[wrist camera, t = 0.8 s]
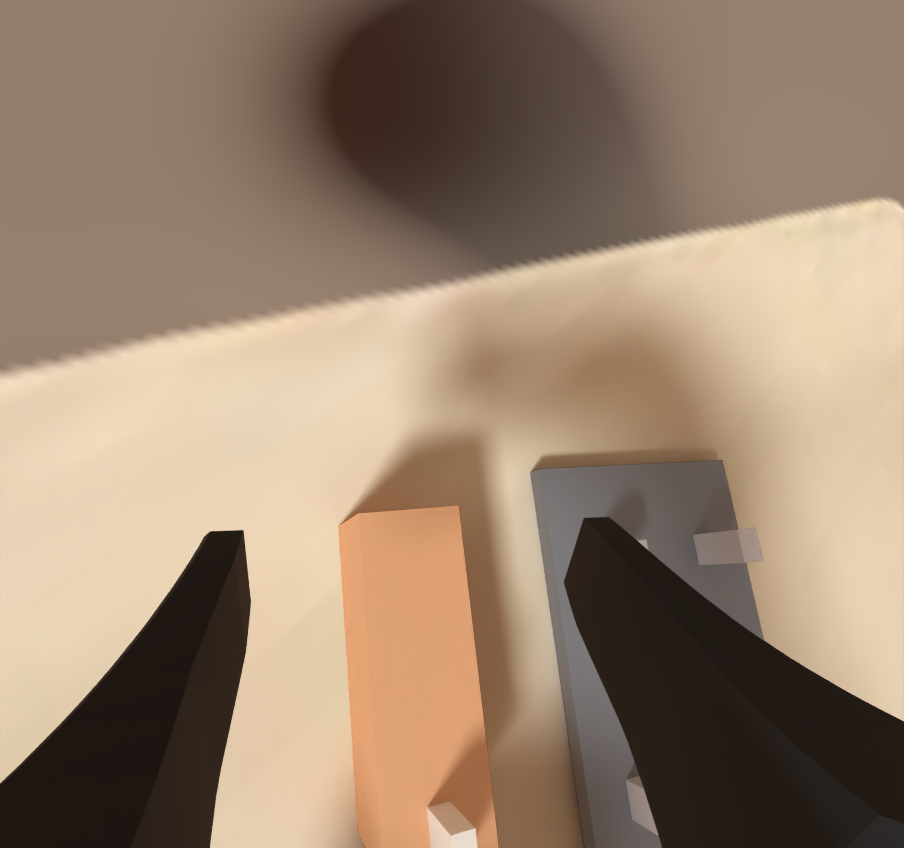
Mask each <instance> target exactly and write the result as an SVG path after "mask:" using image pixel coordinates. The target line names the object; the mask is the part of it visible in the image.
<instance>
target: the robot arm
mask: <svg viewBox="0 0 904 848" xmlns="http://www.w3.org/2000/svg"><path fill="white" fill-rule="evenodd" d="M564 585H565V589H566V592H567V596H568V599H569V603H570V606H571V610H572V613H573V616H574V619H575V622H576V625H577V628H578V630H579V632H580V635H581V637H582V639H583V641H584V644H585V646H586V648H587V650H588V653H589V655H590V657H591V660H592V662H593V664H594V666H595V668H596V671H597V673H598V675H599V677H600V679H601V682H602V684H603V686H604V688H605V691H606V693H607V695H608V697H609V699H610V702H611V704H612V706H613V708H614V710H615V713H616V715H617V717H618V719H619V722H620V724H621V727H622V729H623V732H624V734H625V736H626V739H627V741H628V744H629V747H630V750H631V753H632V756H633V759H634V762H635V765H636V768H637V770H638V773H639V776H640V779H641V782H642V785H643V788H644V791H645V794H646V797H647V801H648V804H649V807H650V810H651V813H652V817H653V820H654V823H655V826H656V829H657V832H658V836H659V839H660V842H661V846H662V848H904V721H902V720H900V719H898V718H896V717H894V716H892V715H890V714H888V713H886V712H884V711H882V710H880V709H878V708H877V707H875V706H873V705H871V704H869V703H867V702H865V701H863V700H861V699H860V698H858V697H856V696H854V695H852V694H850V693H849V692H847V691H845V690H843V689H841V688H840V687H838V686H836V685H834V684H833V683H831V682H829V681H828V680H826V679H824V678H823V677H821V676H819V675H817V674H816V673H814V672H812V671H811V670H809V669H807V668H806V667H804V666H802V665H801V664H799V663H798V662H796V661H794V660H793V659H791V658H790V657H788V656H786V655H785V654H783V653H782V652H780V651H779V650H777V649H776V648H774V647H773V646H771V645H770V644H768V643H767V642H765V641H764V640H762V639H761V638H759V637H758V636H756V635H755V634H753V633H752V632H751V631H749V630H748V629H746V628H745V627H744V626H742V625H741V624H739V623H738V622H737V621H735V620H734V619H733V618H731V617H730V616H729V615H727V614H726V613H725V612H723V611H722V610H721V609H719V608H718V607H717V606H715V605H714V604H713V603H711V602H710V601H709V600H708V599H706V598H705V597H704V596H703V595H701V594H700V593H699V592H698V591H696V590H695V589H694V588H693V587H691V586H690V585H689V584H688V583H686V582H685V581H684V580H683V579H682V578H680V577H679V576H678V575H677V574H676V573H674V572H673V571H672V570H671V569H670V568H669V567H667V566H666V565H665V564H664V563H663V562H661V561H660V560H659V559H658V558H657V557H656V556H655V555H653V554H652V553H651V552H650V551H649V550H648V549H646V548H645V547H644V546H643V545H642V544H641V543H639V542H638V541H637V540H636V539H635V538H634V537H633V536H631V535H630V534H629V533H628V532H627V531H626V530H624V529H623V528H622V527H621V526H620V525H618V524H617V523H616V522H615V521H613V520H612V519H611V518H610V517H592V518H584V519H583V522H582V525H581V528H580V531H579V535H578V538H577V541H576V544H575V547H574V551H573V554H572V557H571V560H570V563H569V567H568V570H567V573H566V576H565V579H564ZM250 606H251V598H250V589H249V579H248V570H247V560H246V551H245V541H244V531H243V530H238V531H211V532H209V533H208V534H207V535H206V536H204V538H203V540H202V542H201V543H200V545H199V547H198V549H197V550H196V552H195V554H194V555H193V557H192V558H191V560H190V562H189V563H188V565H187V566H186V568H185V569H184V571H183V572H182V574H181V575H180V577H179V578H178V580H177V581H176V583H175V584H174V586H173V587H172V589H171V590H170V592H169V593H168V594H167V596H166V597H165V598H164V600H163V601H162V603H161V604H160V605H159V607H158V608H157V610H156V611H155V612H154V614H153V615H152V616H151V618H150V619H149V621H148V622H147V623H146V625H145V626H144V627H143V628H142V630H141V631H140V632H139V634H138V635H137V636H136V637H135V639H134V640H133V641H132V642H131V644H130V645H129V646H128V647H127V648H126V650H125V651H124V652H123V653H122V655H121V656H120V657H119V658H118V660H117V661H116V662H115V663H114V665H113V666H112V667H111V668H110V669H109V671H108V672H107V673H106V674H105V675H104V676H103V678H102V679H101V680H100V681H99V682H98V683H97V685H96V686H95V687H94V688H93V689H92V690H91V691H90V692H89V694H88V695H87V696H86V697H85V698H84V699H83V700H82V701H81V702H80V703H79V705H78V706H77V707H76V708H75V709H74V710H73V711H72V712H71V713H70V714H69V715H68V716H67V717H66V719H65V720H64V721H63V722H62V723H61V724H60V725H59V726H58V727H57V728H56V729H55V730H54V731H53V732H52V733H51V734H50V735H49V736H48V737H47V738H46V739H45V740H44V741H43V742H42V743H41V744H40V745H39V746H38V747H37V748H36V749H35V750H34V751H33V752H32V753H31V754H30V755H29V756H28V757H27V758H26V759H25V760H24V761H23V762H22V763H21V764H20V765H19V766H18V767H17V768H16V769H15V770H14V771H13V772H12V773H11V774H10V775H9V776H8V777H7V778H6V779H5V780H3V781H2V782H1V783H0V848H210V841H211V833H212V825H213V817H214V809H215V801H216V794H217V788H218V783H219V777H220V771H221V766H222V761H223V757H224V752H225V747H226V743H227V738H228V734H229V729H230V724H231V720H232V715H233V710H234V706H235V701H236V696H237V692H238V687H239V682H240V678H241V673H242V668H243V663H244V658H245V654H246V646H247V636H248V627H249V616H250Z"/></svg>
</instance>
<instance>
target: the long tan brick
mask: <svg viewBox="0 0 904 848" xmlns="http://www.w3.org/2000/svg"><path fill="white" fill-rule="evenodd" d="M338 529H339V545H340V560H341V576H342V591H343V607H344V622H345V638H346V653H347V669H348V684H349V700H350V715H351V731H352V746H353V761H354V777H355V792H356V808H357V823H358V833H359V835H360V837H361V839H362V841H363V844H364V846H365V848H499V846H498V838H497V829H496V821H495V812H494V803H493V795H492V786H491V778H490V769H489V761H488V752H487V744H486V735H485V727H484V718H483V710H482V701H481V693H480V684H479V676H478V667H477V659H476V650H475V642H474V633H473V625H472V616H471V608H470V599H469V591H468V582H467V574H466V565H465V556H464V548H463V539H462V531H461V522H460V514H459V505H458V506H446V507H433V508H421V509H408V510H395V511H383V512H370V513H358V514H356V515H355V516H353V517H352V518H350V519H349V520H347V521H346V522H344V523H343V524H341V525H340V526H338Z"/></svg>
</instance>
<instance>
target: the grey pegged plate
mask: <svg viewBox="0 0 904 848" xmlns="http://www.w3.org/2000/svg"><path fill="white" fill-rule="evenodd" d="M531 480H532V487H533V494H534V501H535V508H536V515H537V522H538V529H539V536H540V543H541V550H542V557H543V564H544V571H545V578H546V585H547V592H548V599H549V606H550V613H551V620H552V627H553V634H554V641H555V647H556V654H557V661H558V668H559V675H560V682H561V689H562V696H563V703H564V710H565V717H566V724H567V731H568V738H569V745H570V752H571V759H572V766H573V773H574V780H575V787H576V794H577V801H578V808H579V815H580V822H581V829H582V836H583V843H584V848H662V846H661V842H660V839H659V836H658V832H657V829H656V826H655V823H654V820H653V817H652V813H651V810H650V807H649V804H648V801H647V797H646V794H645V791H644V788H643V785H642V782H641V779H640V776H639V773H638V770H637V768H636V765H635V762H634V759H633V756H632V753H631V750H630V747H629V744H628V741H627V739H626V736H625V734H624V732H623V729H622V727H621V724H620V722H619V719H618V717H617V715H616V713H615V710H614V708H613V706H612V704H611V702H610V699H609V697H608V695H607V693H606V691H605V688H604V686H603V684H602V682H601V679H600V677H599V675H598V673H597V671H596V668H595V666H594V664H593V662H592V660H591V657H590V655H589V653H588V650H587V648H586V646H585V644H584V641H583V639H582V637H581V635H580V632H579V630H578V628H577V625H576V622H575V619H574V616H573V613H572V610H571V606H570V603H569V599H568V596H567V592H566V589H565V585H564V579H565V576H566V573H567V570H568V567H569V563H570V560H571V557H572V554H573V551H574V547H575V544H576V541H577V538H578V535H579V531H580V528H581V525H582V522H583V519H584V518H592V517H610V518H611V519H612V520H613V521H615V522H616V523H617V524H618V525H620V526H621V527H622V528H623V529H624V530H626V531H627V532H628V533H629V534H630V535H631V536H633V537H634V538H635V539H636V540H637V541H638V542H639V543H641V544H642V545H643V546H644V547H645V548H646V549H648V550H649V551H650V552H651V553H652V554H653V555H655V556H656V557H657V558H658V559H659V560H660V561H661V562H663V563H664V564H665V565H666V566H667V567H669V568H670V569H671V570H672V571H673V572H674V573H676V574H677V575H678V576H679V577H680V578H682V579H683V580H684V581H685V582H686V583H688V584H689V585H690V586H691V587H693V588H694V589H695V590H696V591H698V592H699V593H700V594H701V595H703V596H704V597H705V598H706V599H708V600H709V601H710V602H711V603H713V604H714V605H715V606H717V607H718V608H719V609H721V610H722V611H723V612H725V613H726V614H727V615H729V616H730V617H731V618H733V619H734V620H735V621H737V622H738V623H739V624H741V625H742V626H744V627H745V628H746V629H748V630H749V631H751V632H752V633H753V634H755V635H756V636H758V637H759V638H761V639H762V640H764V639H763V635H762V630H761V626H760V622H759V617H758V613H757V609H756V604H755V600H754V596H753V591H752V587H751V582H750V578H749V574H748V569H747V565H746V563H749V562H756V561H763V557H762V553H761V549H760V545H759V540H758V536H757V532H756V528H748V529H739V530H738V526H737V521H736V517H735V513H734V508H733V504H732V500H731V495H730V491H729V487H728V482H727V478H726V473H725V469H724V465H723V460H714V461H694V462H674V463H653V464H633V465H613V466H592V467H572V468H552V469H539V470H536V471H534V472H531Z"/></svg>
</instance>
